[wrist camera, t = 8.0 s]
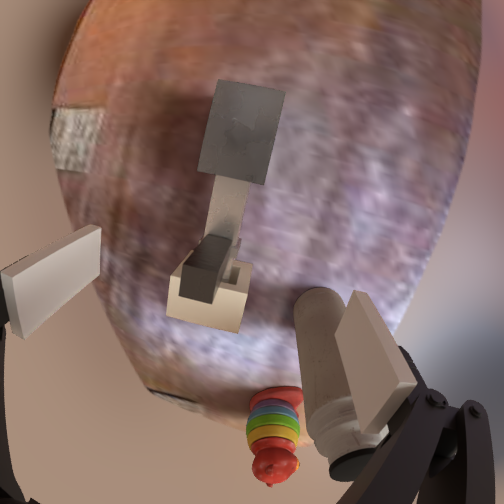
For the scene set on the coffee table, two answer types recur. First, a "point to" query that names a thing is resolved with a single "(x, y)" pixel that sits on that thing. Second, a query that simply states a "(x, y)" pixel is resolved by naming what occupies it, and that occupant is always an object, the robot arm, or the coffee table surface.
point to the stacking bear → (274, 433)
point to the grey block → (241, 131)
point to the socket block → (223, 307)
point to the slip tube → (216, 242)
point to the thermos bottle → (329, 386)
